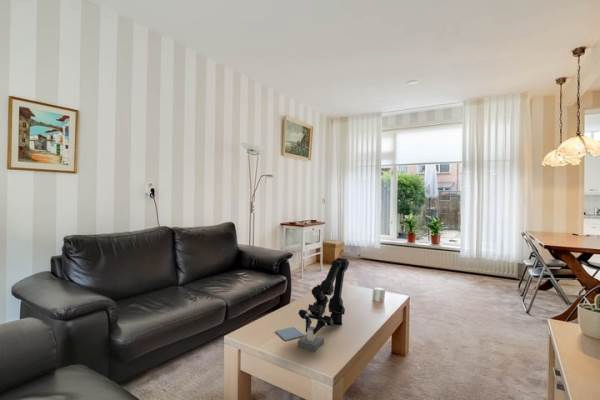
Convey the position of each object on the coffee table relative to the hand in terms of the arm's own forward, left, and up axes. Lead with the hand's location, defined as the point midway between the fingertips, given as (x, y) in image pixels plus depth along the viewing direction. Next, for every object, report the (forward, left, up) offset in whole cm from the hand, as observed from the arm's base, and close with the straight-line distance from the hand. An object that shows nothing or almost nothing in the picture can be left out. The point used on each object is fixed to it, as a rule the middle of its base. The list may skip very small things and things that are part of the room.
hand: (309, 333), depth 153 cm
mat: (+11, -12, -7) cm, 18 cm away
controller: (-6, -45, -7) cm, 46 cm away
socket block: (-1, -1, -7) cm, 7 cm away
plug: (-1, -1, -7) cm, 7 cm away
